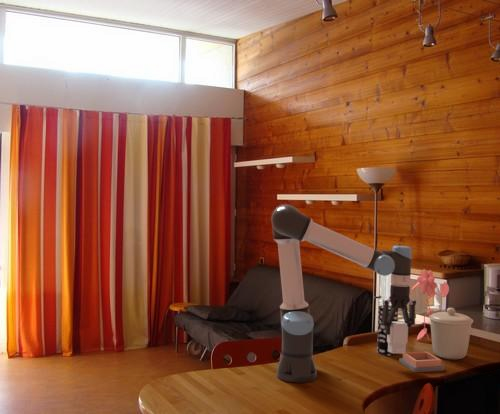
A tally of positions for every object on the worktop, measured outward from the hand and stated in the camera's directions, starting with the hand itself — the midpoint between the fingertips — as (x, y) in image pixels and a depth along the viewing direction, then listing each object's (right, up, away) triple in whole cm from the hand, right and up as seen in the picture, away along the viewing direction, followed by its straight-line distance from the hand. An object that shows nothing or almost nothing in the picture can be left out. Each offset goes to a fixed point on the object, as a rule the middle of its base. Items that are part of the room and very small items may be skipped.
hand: (397, 342), depth 227 cm
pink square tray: (+11, -11, +4) cm, 16 cm away
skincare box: (0, -4, 0) cm, 4 cm away
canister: (+27, -11, +18) cm, 34 cm away
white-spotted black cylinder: (+1, -10, +21) cm, 23 cm away
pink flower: (+22, -10, +35) cm, 42 cm away
